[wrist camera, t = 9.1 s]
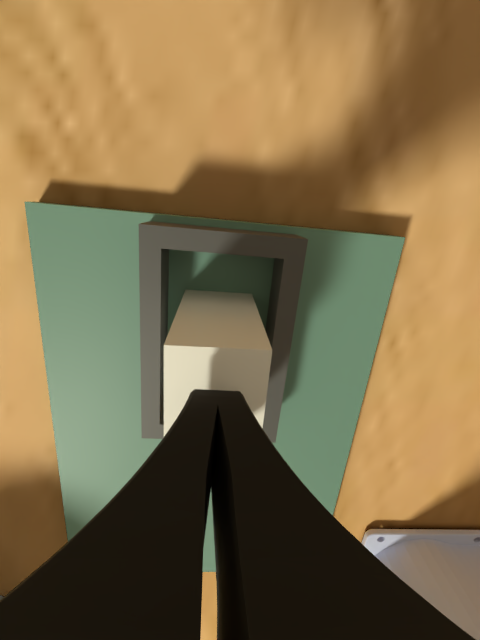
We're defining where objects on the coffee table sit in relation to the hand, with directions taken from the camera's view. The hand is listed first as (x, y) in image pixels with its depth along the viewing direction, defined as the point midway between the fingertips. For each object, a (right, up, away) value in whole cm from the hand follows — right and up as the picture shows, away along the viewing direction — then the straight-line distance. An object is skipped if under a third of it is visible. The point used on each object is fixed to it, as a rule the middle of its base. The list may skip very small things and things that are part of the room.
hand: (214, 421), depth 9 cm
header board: (-1, -3, +9) cm, 10 cm away
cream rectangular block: (0, +2, +6) cm, 7 cm away
